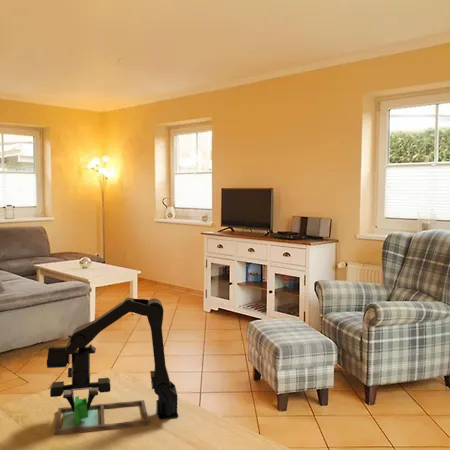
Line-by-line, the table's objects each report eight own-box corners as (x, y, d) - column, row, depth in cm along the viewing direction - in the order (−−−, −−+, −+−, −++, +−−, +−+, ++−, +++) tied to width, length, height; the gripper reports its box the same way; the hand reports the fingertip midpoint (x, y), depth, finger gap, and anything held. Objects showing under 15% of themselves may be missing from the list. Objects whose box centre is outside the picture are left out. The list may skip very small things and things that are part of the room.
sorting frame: (143, 403, 172) (143, 400, 172) (148, 424, 157) (148, 421, 157) (58, 411, 164) (58, 408, 164) (54, 434, 149) (54, 430, 149)
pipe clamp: (88, 421, 155) (86, 408, 154) (76, 424, 154) (73, 411, 153) (88, 406, 165) (86, 393, 165) (77, 409, 164) (75, 396, 164)
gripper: (109, 355, 168) (109, 399, 169) (52, 359, 163) (53, 404, 164) (110, 367, 157) (110, 413, 158) (49, 371, 152) (50, 419, 153)
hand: (81, 412), depth 159 cm, fingers closed on pipe clamp, 4 cm apart
